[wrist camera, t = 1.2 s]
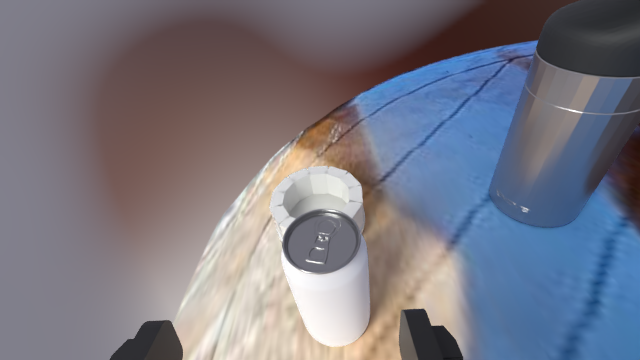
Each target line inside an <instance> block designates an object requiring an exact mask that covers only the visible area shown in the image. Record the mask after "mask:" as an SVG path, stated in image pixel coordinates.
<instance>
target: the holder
mask: <svg viewBox="0 0 640 360" xmlns="http://www.w3.org/2000/svg"><path fill="white" fill-rule="evenodd" d="M288 176H289V178H288V177H286V178H285V179H284V180H283V181H282V182H281V183H280V184H279V185H278V186H277V187H276V188H275V189H274V191H273V193H272V197H271V202H270V211H271V214H272V217H273V220H274V222H275V225H276V230H277V233H278V236H279V238H280V241H281V242H282V241H283V236H284V234H285V231H286V229H287V228H288V226H289V225H290V224H291V223H292V222H293V221H294V220H295V219H296V218H298V217H299V216H301V215H302V214H304V213H307V212H309V211H312V210H317V209H333V210H338V211H341V212H343V213H345V214H347V215H348V216H350V217H351V218H352V219H353V220H354V221H355V222H356V224H357V226H358V227H359V230H360V232H361V234H362V233H363V231H364V227H365V211H364V208H363V198H362V186H361V184H360V183H359V182H358V181H357V180H356V179H355V178H354V177H353V176H352V175H351V174H350V173H348V171H345V170H341V169H338V168H335V167H332V166H330V167H329V168H328V166H318V167H308V170H307V169H306V168H304V169H302V170H300V171H297V172H295V173H293V174H290V175H288Z"/></svg>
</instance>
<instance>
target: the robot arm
mask: <svg viewBox="0 0 640 360" xmlns="http://www.w3.org/2000/svg"><path fill="white" fill-rule="evenodd" d="M639 122H640V0H580V1H577V2H574V3H572V4H569V5H566V6H564V7H562V8H560V9H558V10H557V11H555V12H554V13H553V14H552V15H551V16H550V17H549V18H548V20H547V21H546V23H545V24H544V27H543V29H542V32H541V35H540V38H539V41H538V44H537V47H536V51H535V54H534V57H533V59H532V62H531V65H530V68H529V71H528V74H527V77H526V80H525V84H524V87H523V90H522V93H521V96H520V99H519V102H518V104H517V107H516V110H515V113H514V116H513V119H512V122H511V125H510V128H509V131H508V134H507V137H506V140H505V143H504V146H503V149H502V152H501V155H500V158H499V160H498V163H497V166H496V169H495V172H494V175H493V178H492V181H491V184H490V189H489V192H490V197H491V199H492V201H493V202H494V204H495V205H496V206H497V207H498V208H499V209H500V210H501V211H502V212H503V213H505V214H506V215H508V216H510V217H511V218H513V219H515V220H518V221H520V222H522V223H526V224H529V225H533V226H539V227H558V226H563V225H566V224H569V223H570V222H572V221H573V220H575V218H576V217H577V216H578V214H579V213H580V211H581V210H582V208H583V207H584V205H585V204H586V202H587V201H588V199H589V198H590V196H591V195H592V193H593V192H594V190H595V189H596V187H597V186H598V184H599V183H600V181H601V180H602V178H603V177H604V175H605V174H606V172H607V171H608V169H609V168H610V166H611V165H612V163H613V162H614V160H615V159H616V157H617V156H618V154H619V153H620V151H621V150H622V148H623V147H624V145H625V144H626V142H627V141H628V139H629V138H630V136H631V135H632V133H633V132H634V130H635V129H636V127H637V125H638V124H639ZM399 346H400V353H401V358H402V360H463V356H462V354H461V351H460V349H459V347H458V344H457V342H456V340H455V339H454V337H453V336H452V335H451V334H450V333H449V332H448V331H447V329H446V328H445V327H444V326H431V324H430V321H429V318H428V315H427V313H426V311H425V310H424V309H407V310H402V311H401V319H400V332H399ZM182 358H183V349H182V345H181V343H180V341H179V338H178V336H177V334H176V332H175V329H174V327H173V325H172V323H171V321H169V320H164V321H147V322H145V323H144V324H143V325H142V326H141V328H140V329H139V331H138V333H137V335H136V336H135V338H134V339H128V340H127V341H126V342H125V343H124V344H123V345H122V346H121V347H120V348H119V349H118V350H117V351H116V352H115V353H114V354H113V355H112V357H111V358H110V360H182Z"/></svg>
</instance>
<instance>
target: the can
mask: <svg viewBox="0 0 640 360" xmlns="http://www.w3.org/2000/svg"><path fill="white" fill-rule="evenodd" d="M282 248H283V249H282V265H283V269H284V272H285V275H286V278H287V280H288V283H289V286H290V288H291V291H292V293H293V296H294V299H295V301H296V304H297V306H298V309H299V311H300V314H301V316H302V319H303V321H304V324H305V326H306V328H307V330H308V332H309V333H310V334H311V336H312V337H313V338H314V339H315V340H317V341H318V342H320V343H322V344H324V345H327V346H332V347H340V346H345V345H348V344H351V343H353V342H354V341H356V340H357V339H358V338H359V337H360V336H361V335H362V334H363V333H364V331H365V330H366V328H367V326H368V323H369V319H370V290H369V268H368V252H367V246H366V242H365V239H364V237H363V235H362V234H361V232H360V230H359V227H358V226H357V224H356V222H355V221H354V220H353V219H352V218H351V217H350V216H348V215H347V214H345V213H343V212H341V211H338V210H333V209H317V210H312V211H309V212H307V213H304V214H302V215H301V216H299V217H298V218H296V219H295V220H294V221H293V222H292V223H291V224H290V225H289V226H288V228H287V229H286V231H285V234H284V236H283V241H282Z"/></svg>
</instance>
